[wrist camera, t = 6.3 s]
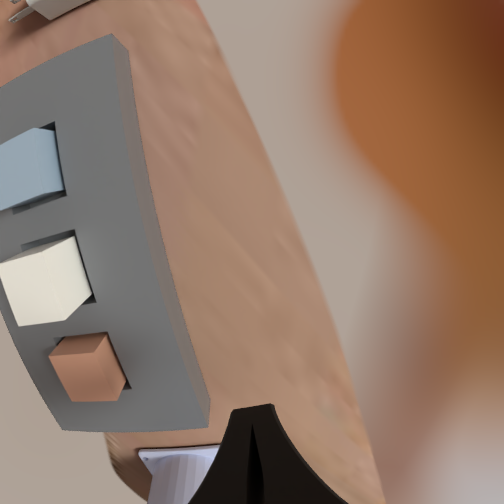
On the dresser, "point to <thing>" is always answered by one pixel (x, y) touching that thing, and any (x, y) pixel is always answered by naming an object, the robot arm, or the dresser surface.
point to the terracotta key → (89, 367)
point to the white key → (45, 282)
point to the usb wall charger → (47, 8)
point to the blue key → (30, 168)
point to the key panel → (102, 245)
